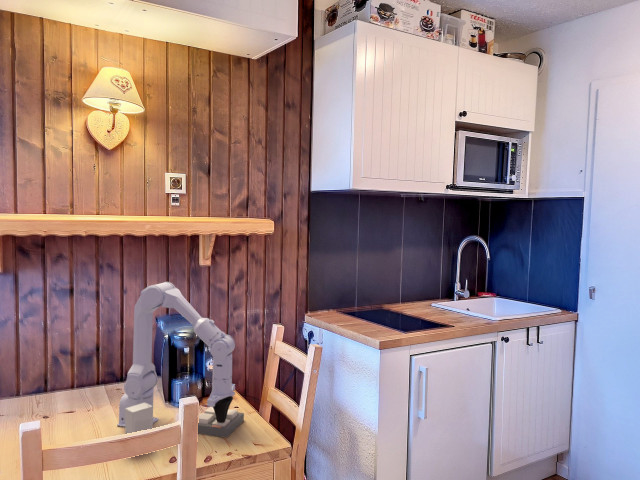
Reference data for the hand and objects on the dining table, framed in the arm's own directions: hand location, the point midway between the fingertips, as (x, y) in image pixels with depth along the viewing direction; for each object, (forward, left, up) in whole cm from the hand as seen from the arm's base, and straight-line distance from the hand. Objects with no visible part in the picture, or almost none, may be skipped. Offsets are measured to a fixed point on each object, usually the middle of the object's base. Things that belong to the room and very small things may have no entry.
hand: (221, 421), depth 142 cm
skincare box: (-16, -18, -3) cm, 24 cm away
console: (-3, +3, -3) cm, 5 cm away
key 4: (0, +5, -1) cm, 5 cm away
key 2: (-5, +5, -1) cm, 8 cm away
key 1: (-5, 0, -1) cm, 5 cm away
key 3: (0, 0, -2) cm, 2 cm away
